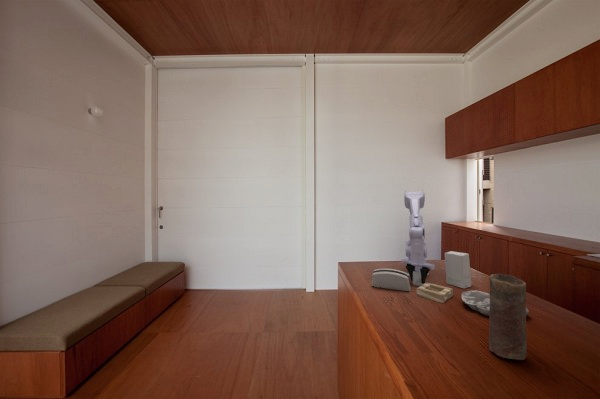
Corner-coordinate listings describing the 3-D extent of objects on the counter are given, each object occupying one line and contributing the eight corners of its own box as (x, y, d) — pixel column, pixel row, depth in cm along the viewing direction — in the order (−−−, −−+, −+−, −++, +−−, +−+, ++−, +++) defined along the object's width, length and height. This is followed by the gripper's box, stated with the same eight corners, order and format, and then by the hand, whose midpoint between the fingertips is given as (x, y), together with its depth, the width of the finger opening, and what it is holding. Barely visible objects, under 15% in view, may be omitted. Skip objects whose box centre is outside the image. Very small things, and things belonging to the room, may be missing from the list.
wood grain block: (421, 287, 110) (421, 272, 110) (412, 284, 113) (412, 270, 113) (425, 284, 113) (425, 270, 113) (417, 282, 116) (416, 269, 116)
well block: (427, 289, 107) (427, 282, 107) (452, 296, 100) (452, 288, 100) (416, 295, 101) (416, 288, 101) (442, 303, 93) (442, 295, 93)
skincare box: (471, 286, 109) (470, 253, 109) (463, 289, 106) (462, 255, 106) (452, 281, 116) (452, 250, 116) (444, 283, 114) (444, 251, 114)
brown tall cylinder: (518, 348, 65) (516, 274, 65) (534, 367, 58) (532, 283, 58) (484, 343, 68) (482, 272, 67) (496, 360, 61) (494, 281, 60)
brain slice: (447, 303, 94) (447, 295, 94) (477, 295, 100) (477, 288, 100) (505, 328, 75) (505, 319, 75) (538, 317, 81) (538, 308, 81)
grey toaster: (410, 287, 110) (410, 268, 107) (410, 294, 106) (410, 275, 103) (372, 282, 117) (371, 265, 114) (371, 289, 113) (369, 271, 110)
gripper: (397, 251, 115) (398, 280, 115) (429, 256, 104) (430, 288, 104) (405, 249, 120) (406, 276, 120) (436, 254, 109) (437, 284, 109)
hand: (417, 281), depth 112 cm, fingers open, 4 cm apart
